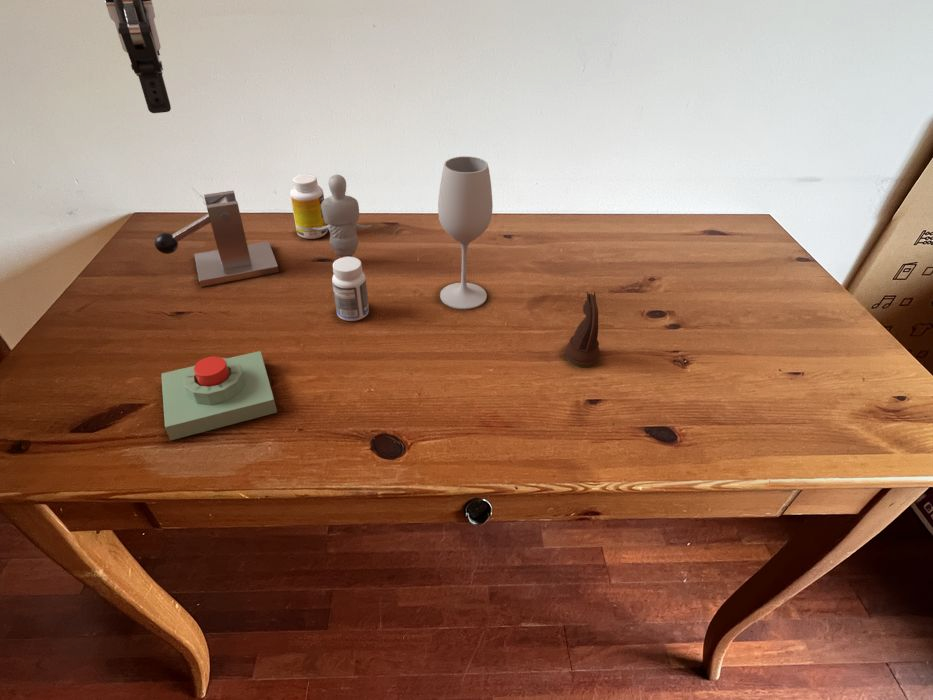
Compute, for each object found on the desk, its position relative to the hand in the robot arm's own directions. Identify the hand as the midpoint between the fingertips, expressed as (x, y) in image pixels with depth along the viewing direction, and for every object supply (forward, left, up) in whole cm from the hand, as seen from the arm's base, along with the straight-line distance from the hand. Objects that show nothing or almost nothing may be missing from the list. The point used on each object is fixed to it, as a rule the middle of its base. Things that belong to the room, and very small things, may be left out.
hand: (160, 110), depth 65 cm
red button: (-2, -12, -27) cm, 30 cm away
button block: (-2, -12, -31) cm, 33 cm away
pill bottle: (+18, 0, -31) cm, 36 cm away
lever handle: (0, +20, -25) cm, 32 cm away
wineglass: (+35, -2, -31) cm, 47 cm away
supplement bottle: (+18, +27, -31) cm, 45 cm away
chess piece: (+44, -22, -31) cm, 58 cm away
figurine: (+21, +15, -31) cm, 40 cm away
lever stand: (+4, +20, -31) cm, 37 cm away
